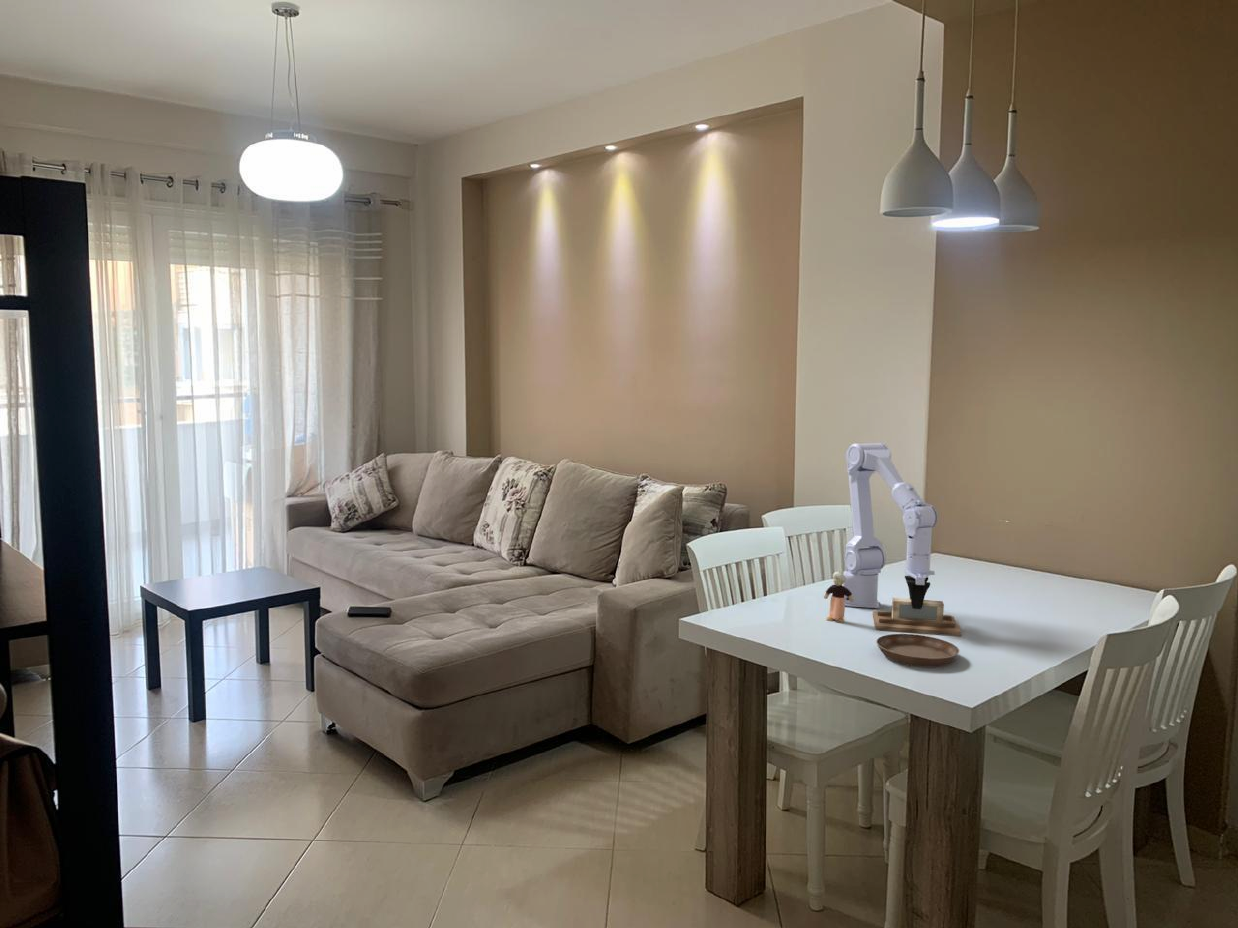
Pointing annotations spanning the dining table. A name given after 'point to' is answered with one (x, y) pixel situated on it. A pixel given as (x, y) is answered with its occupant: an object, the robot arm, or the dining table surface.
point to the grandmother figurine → (837, 598)
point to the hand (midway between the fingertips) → (916, 606)
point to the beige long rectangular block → (917, 610)
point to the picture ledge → (915, 624)
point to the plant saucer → (917, 650)
